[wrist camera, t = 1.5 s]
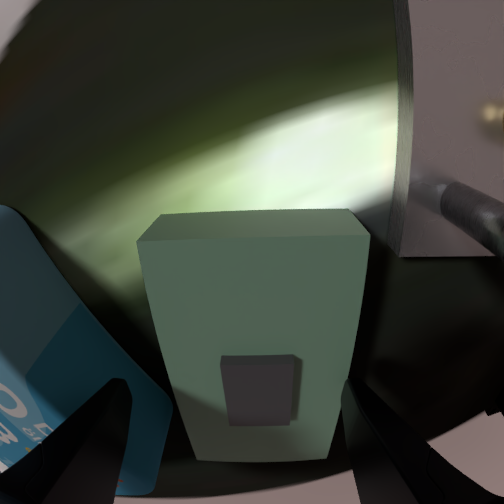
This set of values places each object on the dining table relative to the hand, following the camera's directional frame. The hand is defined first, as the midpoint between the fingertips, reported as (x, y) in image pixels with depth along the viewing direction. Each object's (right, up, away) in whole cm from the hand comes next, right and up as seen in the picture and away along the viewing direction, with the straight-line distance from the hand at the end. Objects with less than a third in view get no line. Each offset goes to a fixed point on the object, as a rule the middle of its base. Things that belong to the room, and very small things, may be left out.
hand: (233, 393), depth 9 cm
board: (+1, +1, +3) cm, 3 cm away
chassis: (+11, +12, -3) cm, 16 cm away
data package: (-16, -5, +3) cm, 17 cm away
